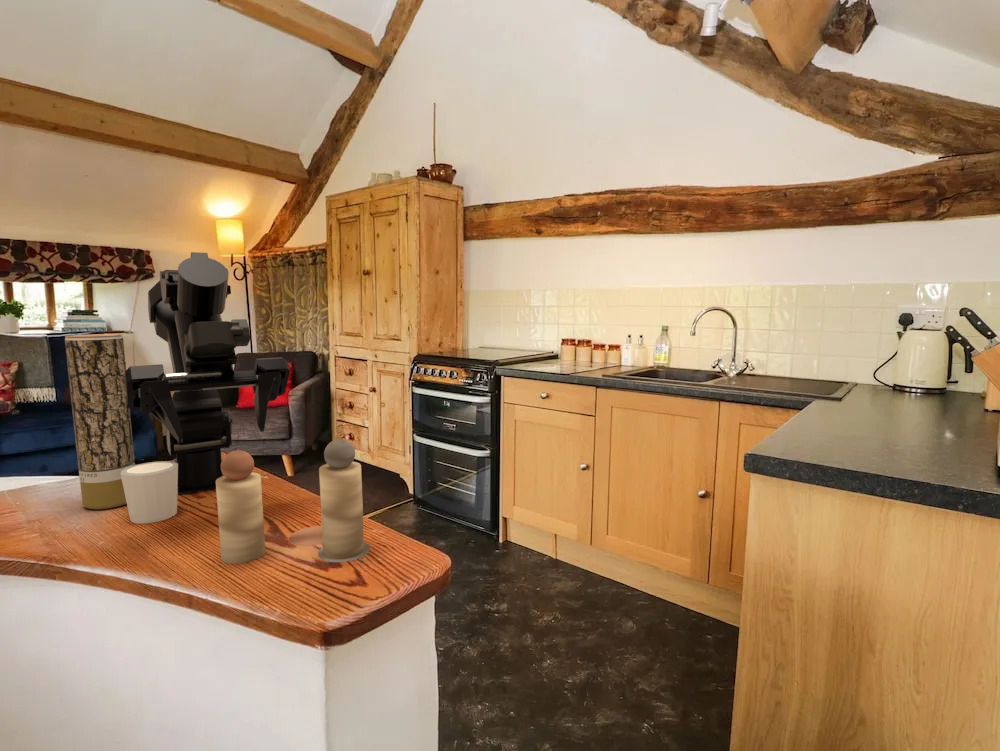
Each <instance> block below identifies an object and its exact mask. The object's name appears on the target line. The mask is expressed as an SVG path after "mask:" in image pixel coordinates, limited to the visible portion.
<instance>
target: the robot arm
mask: <svg viewBox="0 0 1000 751" xmlns="http://www.w3.org/2000/svg"><path fill="white" fill-rule="evenodd" d="M228 282H229V269H228V268H227V267H226V266H225V265H224V264H223V263H221V262H219V261H218V260H216V259H214V258H210V257H209V256H208V252H194V251H191V252H190V257H188V258H186V259H184V260H182V261H181V262H180V263H179V264H178V266H177V269H164V270H160V271H159V281H157V283H156V284H154V285H153V286H152V287H151V288H150V289H149V290H148V292H147V296H148V297H147V309H148V310H147V312H148V319H149V323H150V324H153V325H154V326H153V327H154V330H155V335H156V336H158V337H159V338H160V339H162V340H163V341H165V342H167V344H168V351H169V356H170V361H171V367H172V371H173V373H166V374H165V369H164V365H163V364H147V365H130V366H129V367H127V368H126V371H125V380H126V394H127V404H128V408H130V410H133V411H137V410H138V411H139V410H140V412H141V413H142V414H145V415H147V414H151V415H152V416H153V417H154V418H156V420H158V421H159V422H160V423H161V424H162V425H163V426H164V427H165V428H166V435H165V436H166V446H167V450H168V453H169V456H171V457H173V456H175V455H176V458H174V459H173V460H172V462H175V463H178V489H177V495H182V494H189V493H195V492H196V493H197V492H204V491H209V490H216V480H217V479H218V478H220V477H222V476H224V475H223V473H222V471H221V462H222V460H223V458H222V449H229V448H230V447H231V446H232V444H233V442H232V441H233V440H232V432H233V431H232V430H233V418H231V417H230V415H229V413H228V411H227V410H224V408H223V404H222V400H221V397H220V394H219V391H218V390H221V389H234V388H236V389H237V388H245V387H252V390H253V391H252V392H253V394H254V395H253V396H254V397H253V404H254V410H255V416H256V422H257V426H258V429H259V432H261V433H263V432H265V427H266V420H267V412H268V406H269V403H270V402H271V401H273V402H274V401H276V399H277V398H278V397H280V396H283V395H284V394H286V390H287V387H288V383H289V377H290V373H291V368H290V364H289V361H288V360H287V359H285V357H266V358H255V361H254V365H253V366H254V367H253V369H250V370H249V369H247V370H234V366H233V365H236V364H237V359H238V358H237V355H236V350H235V349H236V348H237V347H247V346H248V345H249V344H250V341H251V333H250V327H249V323H248V321H247V320H248V319H244V318H243V319H242V318H241V319H231V321H229V320H228V321H226V320H225V321H224V320H222V316H221V315H222V314H223V313H224V312H225V309H226V302H227V298H228V296H229V295H232V291H231V290H232V289H231V285H229V283H228ZM171 392H174V393H173V394H172V393H171Z"/></svg>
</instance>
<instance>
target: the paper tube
mask: <svg viewBox="0 0 1000 751" xmlns="http://www.w3.org/2000/svg"><path fill="white" fill-rule="evenodd" d="M64 337H65V338H64V345H65V353H66V356H65V357H66V364H67V372H68V383H69V390H70V391H69V395H70V402H71V411H72V420H73V421H72V422H73V428H74V438H75V439H74V440H75V448H76V458H77V466H78V467H77V468H78V474H79V475H78V476H79V482H80V485H79V486H80V491H81V492H80V494H81V501H82V505H83V506H84V507H85V508H86V509H89V510H107V509H113V508H118V507H121V506H125V505H127V502H126V497H125V493H124V488H123V483H122V479H121V474H120V473H121V471H122V470H124V469H125V468H128V467H131V466H134V465H136V463H135V452H134V451H135V450H134V441H133V431H132V429H133V428H132V420H131V417H132V416H131V409H130V408H128V404H127V394H126V380H125V371H126V370H127V366H126V354H125V344H124V337H123V334H122V333H98V334H96V333H95V334H93V333H92V334H73V335H72V334H71V335H64Z"/></svg>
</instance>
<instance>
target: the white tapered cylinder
mask: <svg viewBox="0 0 1000 751" xmlns="http://www.w3.org/2000/svg"><path fill="white" fill-rule="evenodd" d="M120 474H121V479H122V483H123V488H124V493H125V497H126V502H127V504H126V506H127V512H128V515H129V520H130V522H132V523H133V524H151V523H157V522H161V521H165V520H168V519H170V518H172V516H173V517H174V516H175V515H176V514H177V513H178V463H175V462H173V461H169V460H168V461H167V460H165V461H152V462H151V461H150V462H144V463H139V464H135V465H134V466H131V467H128V468H125V469H124V470H122V471H121V473H120Z"/></svg>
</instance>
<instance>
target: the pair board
mask: <svg viewBox="0 0 1000 751" xmlns="http://www.w3.org/2000/svg"><path fill="white" fill-rule="evenodd" d="M288 541H289V543H290V544H292V545H295V546H300V547H301V546H302V547H307V546H308V547H310V546H318V545H323V540H322V525H316V526H314V525H313V526H308V527H304V528H300V529H299V530H296V531H294V532H293V533H291V534H290V535H289V537H288ZM370 550H371V546H370V545H369V543H367V542H366V541H364V551H363V552H362V553H361V554H359V555H357V556H355V557H352V558H348V559H340V560H336V559H329V558H327V557H325V556H324V555H323V546H322V547H321V548H320V549H319V550H318V552H317V556H318V557H319V558H320V559H321V560H323V561H326V562H331V563H344V562H350V561H351V562H352V561H355V560H357V559H360V558H362V557H364V556H365V555H367V554H368V553H369V552H370Z"/></svg>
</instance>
